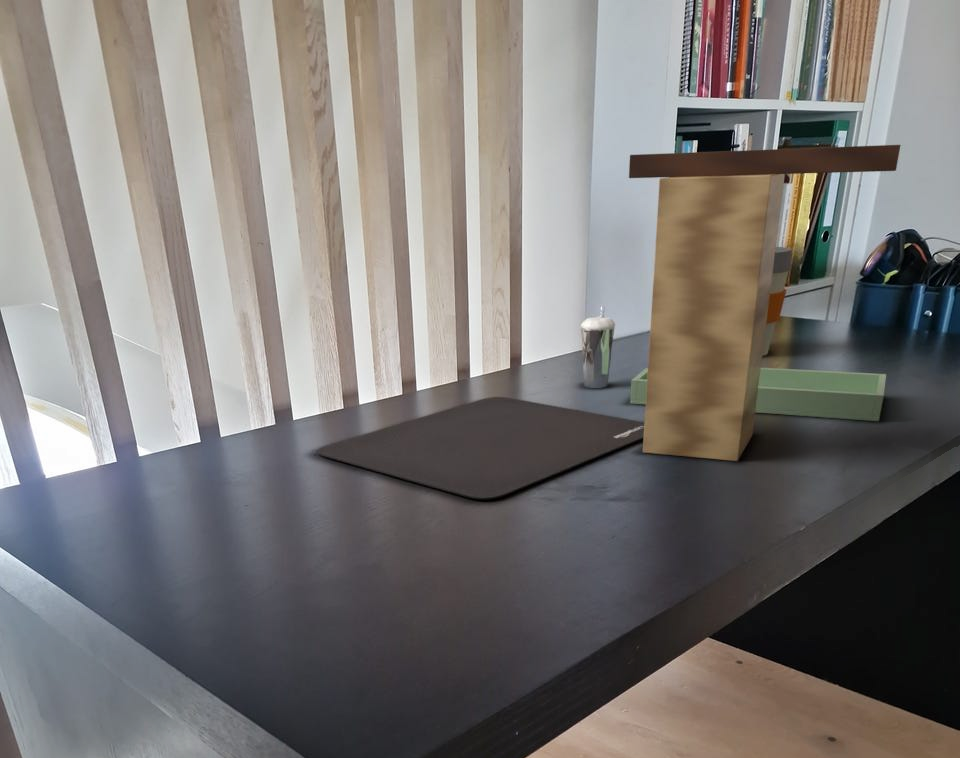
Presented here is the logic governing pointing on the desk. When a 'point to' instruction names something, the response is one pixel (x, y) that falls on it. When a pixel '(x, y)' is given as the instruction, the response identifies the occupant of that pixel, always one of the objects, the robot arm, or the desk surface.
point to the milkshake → (597, 350)
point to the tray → (807, 393)
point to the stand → (709, 312)
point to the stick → (766, 162)
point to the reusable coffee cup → (777, 292)
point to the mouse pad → (487, 446)
